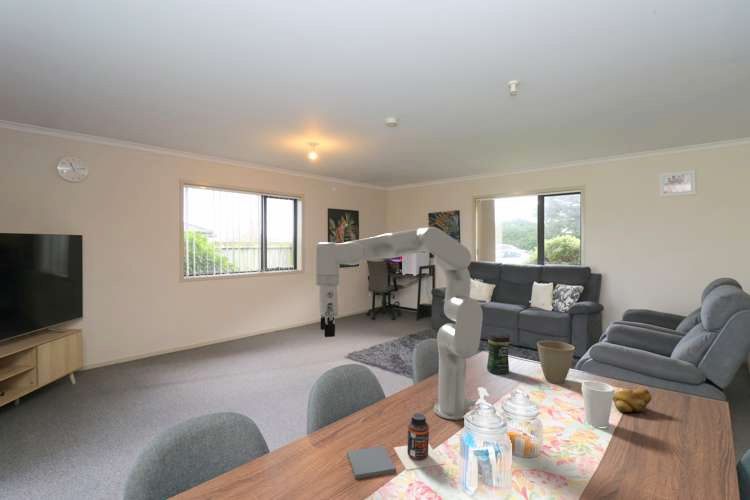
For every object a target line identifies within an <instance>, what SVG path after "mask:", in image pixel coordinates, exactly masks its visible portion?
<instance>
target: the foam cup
mask: <svg viewBox="0 0 750 500" xmlns="http://www.w3.org/2000/svg"><path fill="white" fill-rule="evenodd" d="M581 393H582V399H583V407H584V409H583V410H584V416H585V423H586V422H587V423H588V424H587V423H586V424H587V425H589V424H590V425H592V426H591V427H593V426H595V427H594V428H596V427H606V426H608V427H609V422H610V415H611V410H612V406H613V402H614V401H613V399H614V398H613V397H614V394H615V388H614V386H612V385H610V384H608V383H605V382H601V381H597V380H583V381H582V382H581ZM590 425H589V426H590Z"/></svg>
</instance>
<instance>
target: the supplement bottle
mask: <svg viewBox="0 0 750 500" xmlns="http://www.w3.org/2000/svg"><path fill="white" fill-rule="evenodd" d="M426 417H427V416H426V415H425V414H423V413H421V412H416V413H412V414H411V420H410V421H409V422H408V424H407V445H408V448H407V451H408V455H409V457H411V458H412V459H414V460H423V459H426V458H427V457H428V449H429V448H428V443H429V440H430V439H429V438H430V436H429V434H430V432H429V431H430V430H429V429H430V427H429V424H428V423H427V421H426ZM429 444H430V443H429Z"/></svg>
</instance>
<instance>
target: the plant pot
mask: <svg viewBox="0 0 750 500" xmlns="http://www.w3.org/2000/svg"><path fill="white" fill-rule="evenodd" d="M536 345H537V352H538V358H539V362H540V367H541V370H542V374H543V376H544V379H545V380H546V382H548V383H552V384H558V385H559V384H561V385H562V384H563V383H565V380H566V379H567V377H568V374H569V371H570V368H571V365H572V363H573V358H574V353H575V346H574V345H572V344H570V343H566V342H562V341H557V340H556V341H553V340H541V341H537V342H536Z"/></svg>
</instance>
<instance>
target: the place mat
mask: <svg viewBox="0 0 750 500" xmlns="http://www.w3.org/2000/svg"><path fill="white" fill-rule="evenodd" d="M346 456H347V460H348V461H349V465H350V468H351V469H352V474H353V477H354V479H362V478H368V477H375V476H382V475H388V474H392V473H393V474H394V473H396V472H397V468H396V466H395V464H394V461H393V460H392V459H391V456H390V455H389V453H388V451H387V449H386V447H385V446H384V445H382V446H373V447H368V448H367V447H366V448H361V449H353V450H347V451H346Z"/></svg>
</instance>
